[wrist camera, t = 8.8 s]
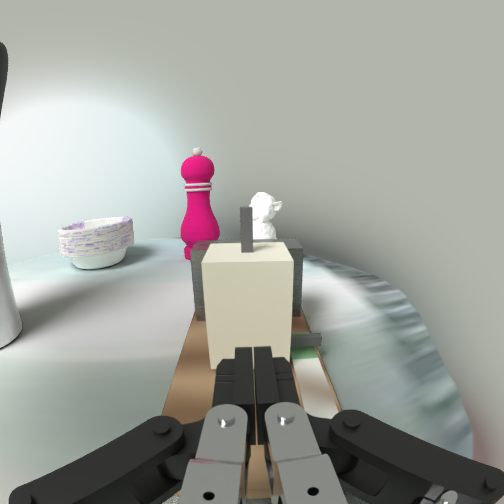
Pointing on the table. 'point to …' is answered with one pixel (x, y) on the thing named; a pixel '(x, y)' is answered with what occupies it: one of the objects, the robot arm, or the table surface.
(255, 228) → the white creature statuette
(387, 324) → the table surface
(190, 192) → the pepper mill
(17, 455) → the table surface
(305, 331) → the brown wooden board
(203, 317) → the grey rectangular block
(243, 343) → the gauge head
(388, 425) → the robot arm
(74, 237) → the paper bowls
